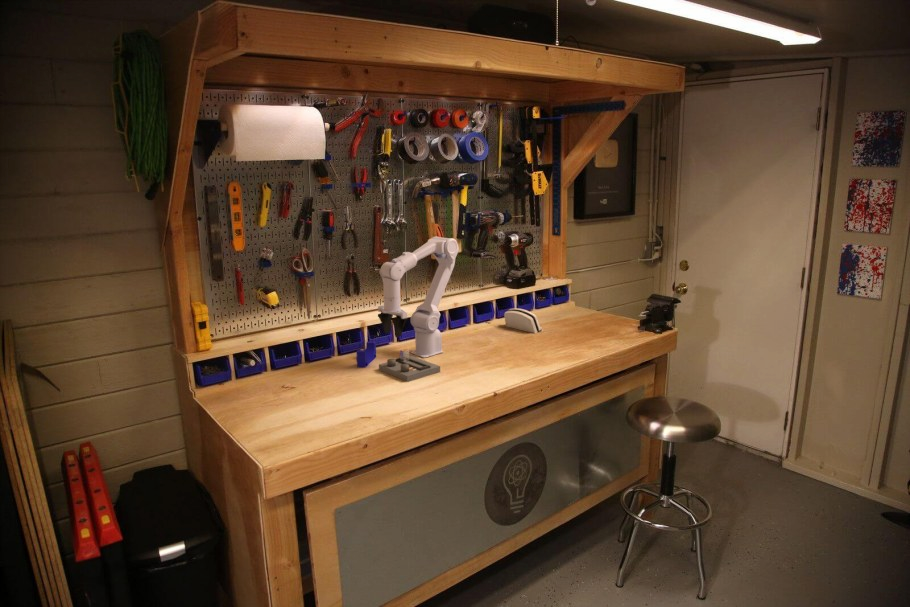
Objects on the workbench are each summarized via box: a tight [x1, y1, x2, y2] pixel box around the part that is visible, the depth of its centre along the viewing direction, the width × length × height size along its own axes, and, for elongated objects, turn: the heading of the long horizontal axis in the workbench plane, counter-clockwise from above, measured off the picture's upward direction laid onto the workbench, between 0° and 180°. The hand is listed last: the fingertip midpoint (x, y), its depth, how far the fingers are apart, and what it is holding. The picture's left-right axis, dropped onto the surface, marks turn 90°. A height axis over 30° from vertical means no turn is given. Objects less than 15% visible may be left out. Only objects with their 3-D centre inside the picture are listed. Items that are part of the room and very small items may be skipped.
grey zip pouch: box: [503, 307, 544, 334], centre depth 257 cm, size 17×5×10 cm, turn 44°
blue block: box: [356, 341, 377, 369], centre depth 218 cm, size 12×4×6 cm, turn 169°
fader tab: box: [399, 348, 410, 362], centre depth 212 cm, size 3×2×4 cm
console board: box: [378, 355, 441, 383], centre depth 208 cm, size 14×16×4 cm
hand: (392, 334), depth 214 cm, fingers open, 6 cm apart
